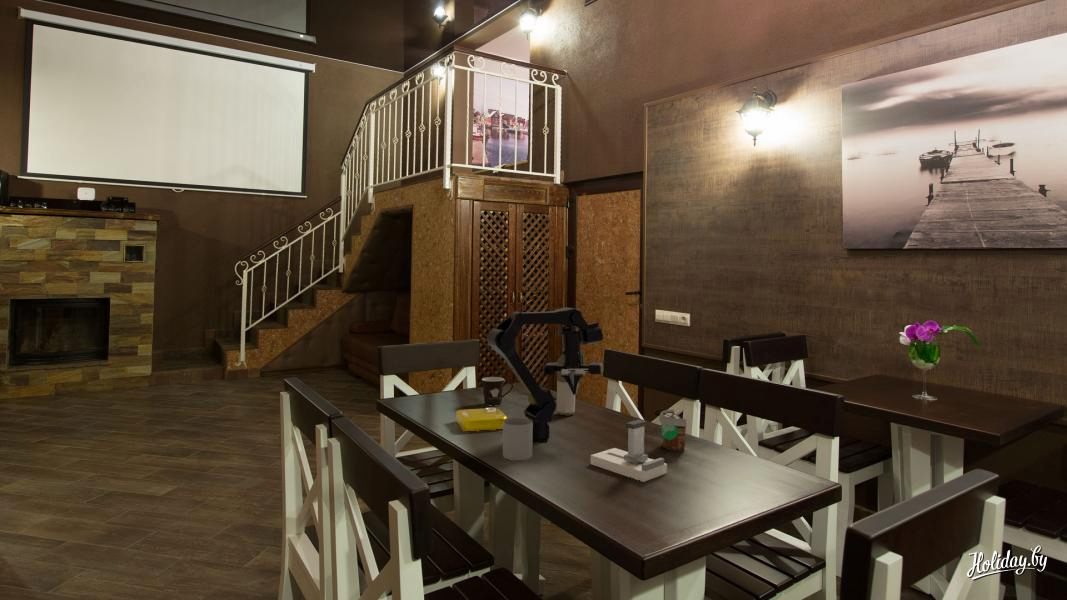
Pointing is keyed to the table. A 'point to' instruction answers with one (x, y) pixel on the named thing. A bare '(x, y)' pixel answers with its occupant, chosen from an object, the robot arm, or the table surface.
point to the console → (629, 465)
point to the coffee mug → (494, 390)
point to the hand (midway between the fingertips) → (574, 394)
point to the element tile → (480, 419)
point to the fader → (636, 442)
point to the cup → (517, 438)
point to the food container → (672, 430)
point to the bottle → (564, 393)
